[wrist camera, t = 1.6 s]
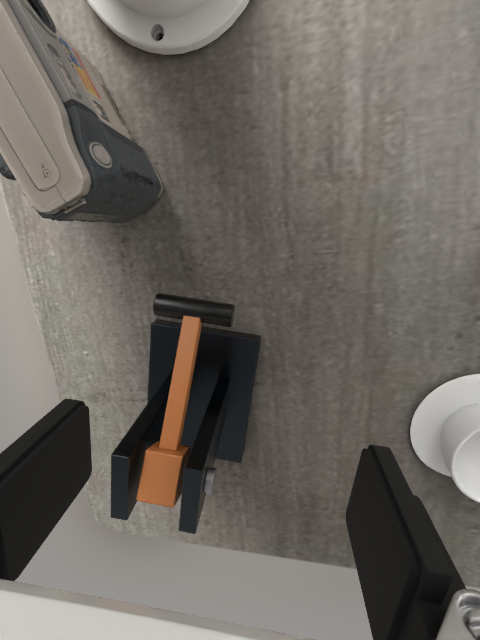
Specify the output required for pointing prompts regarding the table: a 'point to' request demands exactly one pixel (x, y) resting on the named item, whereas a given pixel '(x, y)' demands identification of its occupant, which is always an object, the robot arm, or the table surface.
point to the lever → (177, 397)
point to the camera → (65, 127)
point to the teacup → (451, 432)
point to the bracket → (190, 416)
